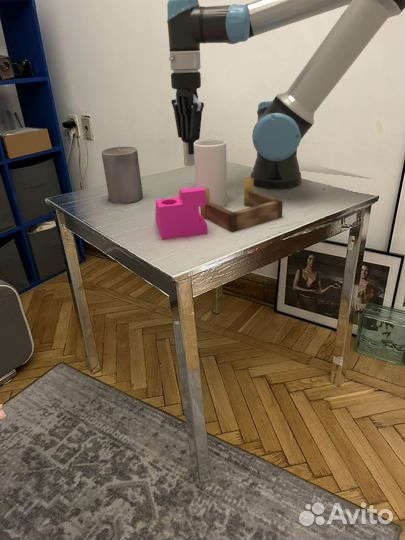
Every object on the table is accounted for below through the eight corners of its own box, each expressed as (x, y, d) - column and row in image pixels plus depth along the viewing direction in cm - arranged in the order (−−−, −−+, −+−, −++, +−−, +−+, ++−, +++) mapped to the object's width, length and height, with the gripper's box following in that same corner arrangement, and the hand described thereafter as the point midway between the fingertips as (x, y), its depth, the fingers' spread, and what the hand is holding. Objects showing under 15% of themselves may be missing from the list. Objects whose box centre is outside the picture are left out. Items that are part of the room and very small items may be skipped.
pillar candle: (118, 192, 121) (110, 141, 113) (148, 194, 118) (142, 141, 111) (103, 203, 113) (93, 149, 105) (135, 205, 110) (127, 149, 103)
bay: (249, 202, 107) (249, 176, 104) (283, 216, 97) (284, 188, 94) (198, 216, 100) (197, 188, 97) (229, 232, 90) (229, 202, 87)
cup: (224, 208, 104) (223, 145, 97) (193, 208, 106) (190, 145, 98) (229, 198, 111) (228, 139, 104) (200, 198, 113) (197, 139, 105)
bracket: (207, 234, 90) (205, 190, 85) (162, 240, 88) (157, 195, 84) (196, 216, 101) (194, 175, 96) (155, 221, 99) (151, 180, 94)
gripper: (160, 71, 104) (167, 162, 115) (185, 72, 94) (190, 172, 106) (185, 70, 108) (189, 159, 119) (212, 70, 98) (213, 167, 109)
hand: (189, 165), depth 112 cm, fingers closed
